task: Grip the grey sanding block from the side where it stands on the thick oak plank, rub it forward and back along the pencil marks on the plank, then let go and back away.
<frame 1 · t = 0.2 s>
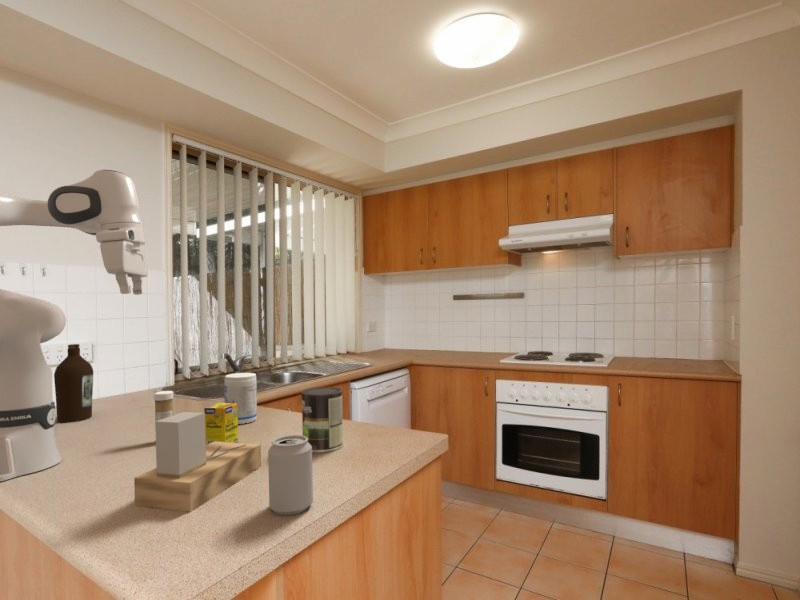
hand: (132, 294, 108), 40 cm above the worktop, tool pointing down, fingers open, 8 cm apart
supplement tub: (241, 422, 139), on the worktop
sprinkles bottle: (164, 442, 119), on the worktop
can: (291, 508, 78), on the worktop
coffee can: (323, 447, 112), on the worktop
sanding block: (182, 470, 83), point 5 cm above the worktop, touching plank
supplement box: (221, 449, 112), on the worktop
plank: (204, 484, 89), on the worktop
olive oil: (75, 419, 148), on the worktop
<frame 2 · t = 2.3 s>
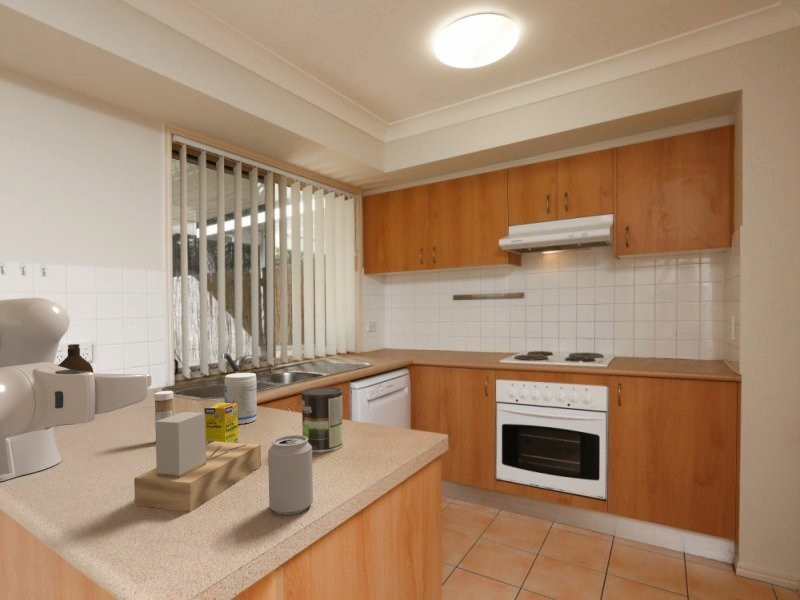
hand: (124, 379, 72), 24 cm above the worktop, tool horizontal, fingers open, 8 cm apart
nothing on the worktop moved.
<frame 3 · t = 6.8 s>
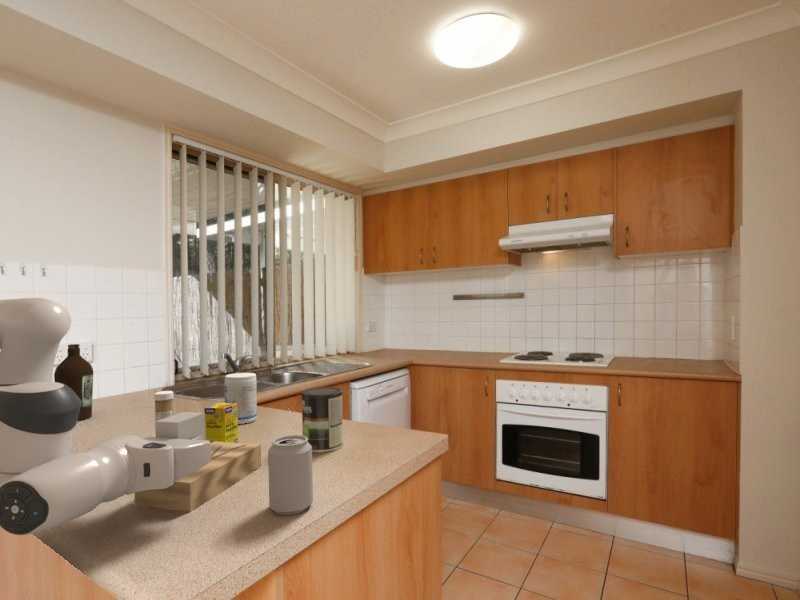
hand: (185, 439, 84), 11 cm above the worktop, tool horizontal, fingers closed on sanding block, 5 cm apart
sanding block: (182, 470, 83), point 5 cm above the worktop, touching gripper, plank
everything else where it was.
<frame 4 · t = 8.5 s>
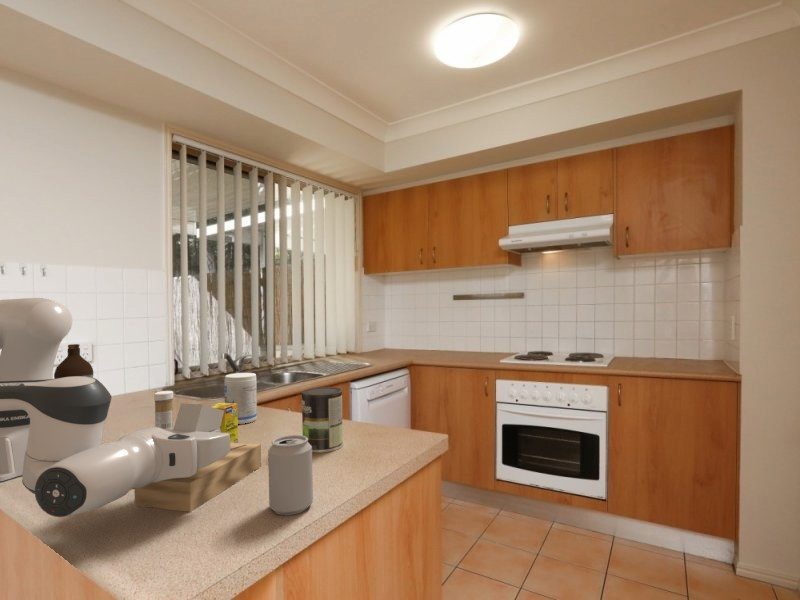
hand: (204, 432, 89), 10 cm above the worktop, tool horizontal, fingers closed on sanding block, 5 cm apart
sanding block: (189, 459, 85), point 6 cm above the worktop, tilted 23°, touching gripper, plank
everything else where it was.
when the fingers open (10 cm above the worktop, at t = 13.1 s): sanding block drops 2 cm, resting on plank.
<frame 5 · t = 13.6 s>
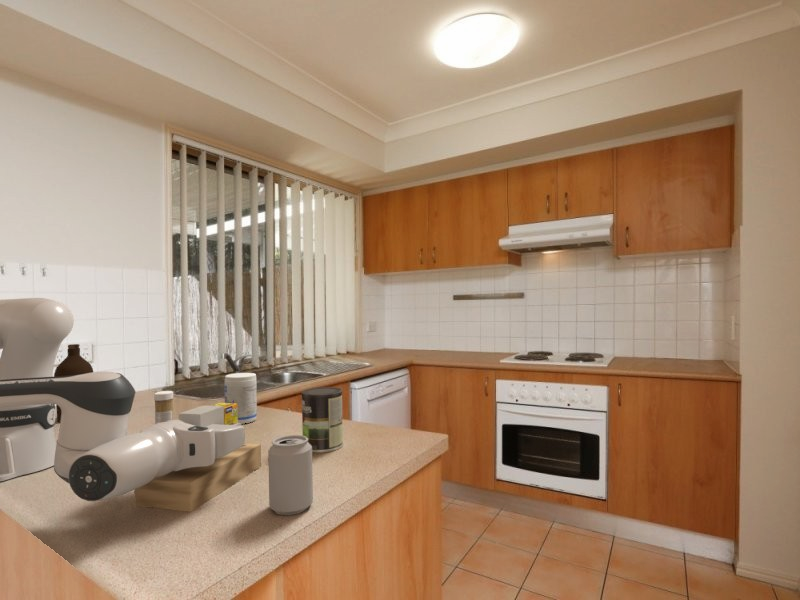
hand: (218, 425, 94), 10 cm above the worktop, tool horizontal, fingers open, 8 cm apart
sanding block: (202, 459, 89), point 5 cm above the worktop, touching plank
everything else where it was.
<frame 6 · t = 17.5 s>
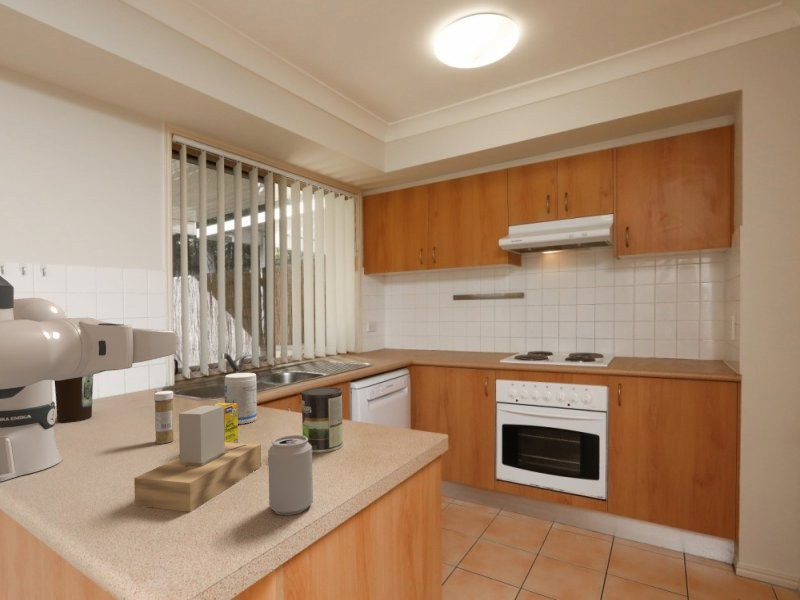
hand: (152, 340, 79), 30 cm above the worktop, tool horizontal, fingers open, 8 cm apart
nothing on the worktop moved.
at the end: sanding block inside the target area (4.2 cm from its centre), point 5.0 cm above the worktop; sanding block tilted 0°; the gripper is holding nothing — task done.
